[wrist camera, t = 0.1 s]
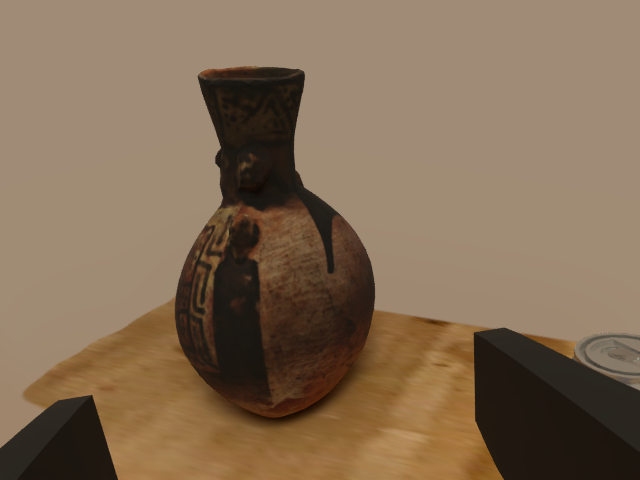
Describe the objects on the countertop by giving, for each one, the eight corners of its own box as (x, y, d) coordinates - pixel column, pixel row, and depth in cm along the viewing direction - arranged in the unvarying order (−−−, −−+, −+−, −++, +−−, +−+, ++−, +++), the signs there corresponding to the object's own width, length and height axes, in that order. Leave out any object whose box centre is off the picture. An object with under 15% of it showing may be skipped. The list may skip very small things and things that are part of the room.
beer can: (696, 548, 30) (711, 356, 27) (634, 596, 28) (643, 394, 25) (608, 491, 35) (611, 322, 32) (549, 528, 33) (547, 351, 29)
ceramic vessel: (251, 339, 63) (205, 77, 55) (399, 340, 58) (371, 52, 50) (154, 458, 44) (61, 81, 36) (363, 475, 39) (308, 42, 31)
